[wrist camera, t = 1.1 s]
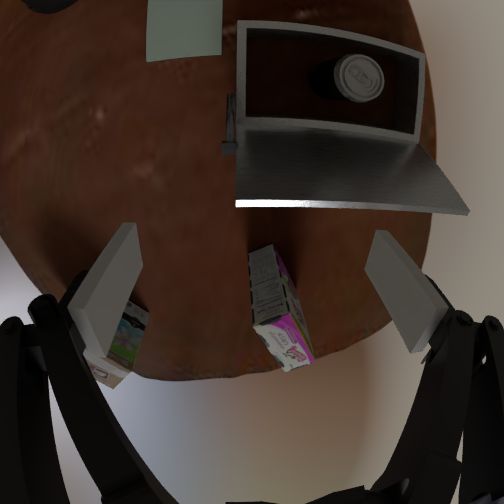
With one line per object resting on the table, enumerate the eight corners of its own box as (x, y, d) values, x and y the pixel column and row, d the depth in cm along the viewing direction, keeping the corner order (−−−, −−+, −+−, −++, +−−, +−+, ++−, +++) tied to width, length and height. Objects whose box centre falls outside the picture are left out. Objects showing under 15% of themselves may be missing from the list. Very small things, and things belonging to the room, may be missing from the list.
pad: (149, 1, 24) (148, -1, 23) (223, -8, 24) (222, -9, 24) (147, 62, 29) (146, 61, 28) (221, 54, 29) (221, 54, 29)
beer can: (299, 83, 32) (326, 79, 22) (321, 55, 30) (355, 42, 20) (331, 106, 34) (367, 113, 23) (352, 78, 31) (395, 77, 21)
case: (226, 31, 28) (217, -19, 12) (402, 56, 29) (490, 54, 13) (226, 156, 37) (217, 208, 22) (393, 165, 38) (468, 216, 23)
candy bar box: (298, 289, 50) (317, 363, 36) (272, 299, 51) (284, 374, 37) (274, 240, 45) (291, 313, 31) (245, 252, 45) (250, 328, 32)
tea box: (151, 311, 52) (134, 373, 39) (131, 335, 55) (114, 391, 43) (87, 269, 46) (53, 325, 33) (73, 298, 49) (44, 351, 37)
